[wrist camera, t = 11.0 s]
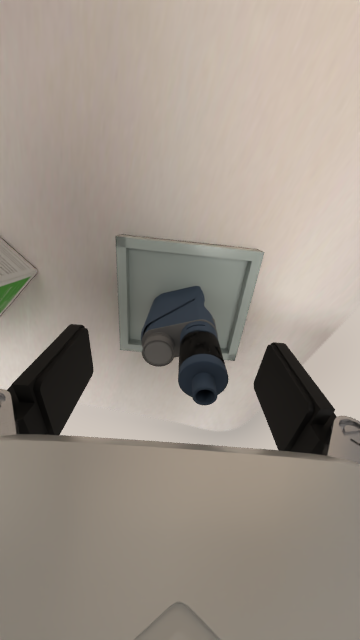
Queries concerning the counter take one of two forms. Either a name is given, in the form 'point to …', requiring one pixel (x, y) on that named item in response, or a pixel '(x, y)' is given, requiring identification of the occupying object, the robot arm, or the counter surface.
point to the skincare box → (12, 274)
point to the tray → (185, 283)
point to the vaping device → (186, 342)
